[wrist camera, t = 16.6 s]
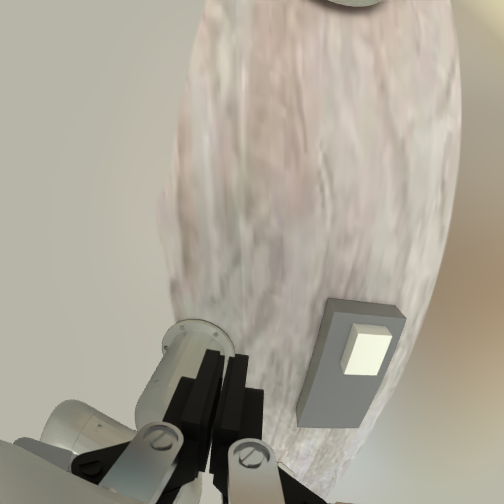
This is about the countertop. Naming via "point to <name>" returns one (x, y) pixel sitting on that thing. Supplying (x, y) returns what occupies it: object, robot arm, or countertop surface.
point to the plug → (365, 349)
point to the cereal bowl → (356, 2)
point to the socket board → (330, 371)
